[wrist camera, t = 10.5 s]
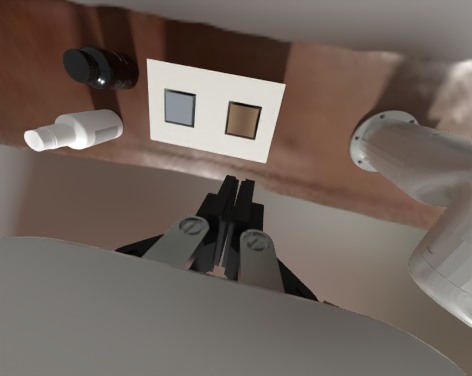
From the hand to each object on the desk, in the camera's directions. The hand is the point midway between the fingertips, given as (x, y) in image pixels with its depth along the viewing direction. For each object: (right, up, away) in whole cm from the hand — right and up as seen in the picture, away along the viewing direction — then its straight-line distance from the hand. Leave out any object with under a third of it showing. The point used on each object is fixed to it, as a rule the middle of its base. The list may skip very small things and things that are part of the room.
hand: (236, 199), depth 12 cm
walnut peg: (+2, +16, +29) cm, 33 cm away
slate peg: (-10, +18, +30) cm, 37 cm away
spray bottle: (-31, +17, +37) cm, 51 cm away
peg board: (-4, +18, +31) cm, 36 cm away
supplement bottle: (-24, +26, +31) cm, 47 cm away
